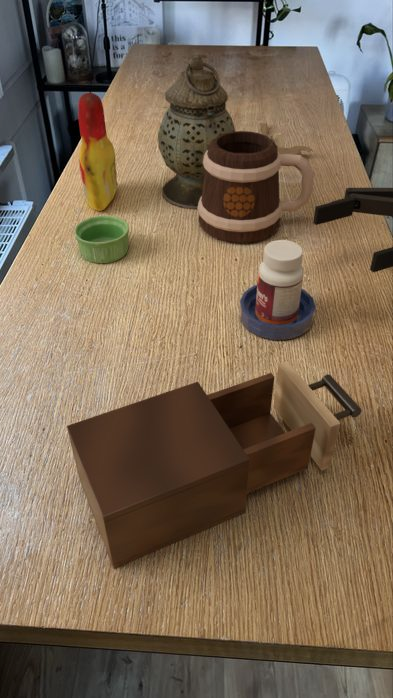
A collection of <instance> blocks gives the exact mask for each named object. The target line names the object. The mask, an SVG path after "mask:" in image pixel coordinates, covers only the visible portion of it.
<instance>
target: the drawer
mask: <svg viewBox="0 0 393 698" xmlns="http://www.w3.org/2000/svg"><path fill="white" fill-rule="evenodd" d="M276 372H277V373H276V381H275V375H273V373H272V372H269V373H266V374H264V375H263V374H262V375H260V376H257V377H254V378H252V379H249V380H246V381H243V382H240V383H237V384H235V385H232V386H229V387H226V388H223V389H220V390H218V391H214V392H212V393H209V394H207V396H208V397H209V399H210V401H211V402H212V404H213V405H214V407H215V408H216V410H217V411H218V413H219V414H220V416H221V417H222V419H223V420H224V422H225V423H226V425H227V426H228V428H229V429H230V431H231V432H232V434H233V435H234V437H235V438H236V440H237V441H238V443H239V444H240V446H241V447H242V449H243V450H244V452H245V453H246V455H247V456H248V458H249V473H248V485H247V494H249V493H250V494H251V493H252V492H255V491H257V490H260V489H262V488H265V487H266V486H269V485H271V484H273V483H276V482H279V481H281V480H283V479H286V478H288V477H290V476H293V475H295V474H298V473H301V472H303V471H305V470H307V469H309V465H310V460H311V458H312V460H313V461H314V463H315V464H316V466H317V467H318V468H319V469H320V470H321V471H323V470H325V469H328V468H330V467H331V465H332V462H333V457H334V452H335V449H336V444H337V440H338V436H339V431H340V427H341V422H340V421H341V420H343V419H346V418H348V417H349V416H350V417H351V418H353V419H355V418H357V417H359V416H360V415H361V414H362V413H363V409H362V408H361V407H360V406H359V404H358V403H357V402H356V401H355V400H354V399H353V398H352V397H351V395H350V394H349V393H347V391H346V390H345V389H344V388H343V387H342V386H341V385H340V383H338V381H337V380H336V379H335V378H334V377H333V376H332V375H331V374H330V373H329V374H325V375H324V376H323V377H322V378H321V379H320V380H319V381H316V382H313V383H310V384H307V382H306V381H305V380H304V379H303V378H302V376H301V375H300V374H299V373H298V372H297V371H296V370H295V368H294V367H293V366H292V364H291V363H289V362H288V360H286V361H283V362H280V363H278V364H277V371H276ZM274 384H275V390H274ZM321 388H325V389H326V390H327V391H328V392H329V394H331V396H332V397H333V398H334V399H335V400H336V401H337V403H338V404H339V405H340V406H341V407H342V408H343V410H341V411H339V412H337V413H334V414H333V413H332V412H331V411H330V409H329V408H328V407H327V406H326V404H325V403H324V402H323V401H322V400H321V399H320V397H319V396H318V395H317V394H316V393H315V392H314V391H316V390H319V389H321ZM273 392H274V393H273ZM273 394H274V397H273ZM272 402H273V403H272ZM272 404H273V409H274V410H275V411H276V412H277V414H278V415H279V417H280V418H281V419H282V421H283V422H284V423H285V425H286V426H287V427H288V428H289V429H290V431H285V430H284V429H283V427H282V426H281V425H280V424H279V422H278V421H277V419H276V418H275V416H273V414H272V413H271V412H272Z"/></svg>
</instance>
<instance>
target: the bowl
mask: <svg viewBox="0 0 393 698" xmlns="http://www.w3.org/2000/svg"><path fill="white" fill-rule="evenodd" d="M256 296H257V284H255V285H252V286H251V287H249V288H248V289H246V290H245V291H244V292H243V293H242V296H241V298H240V300H239V317H240V318H239V319H240V322H241V323H242V325H243V326H244V327H245V328H246V329H247V331H249V332H251V333H252V334H254V335H255V336H258V337H259V338H263V339H269V340H275V341H278V340H291V339H294V338H297V337H300V336H303V335H304V334H305V333H306V332H307V331H309V330H310V329H311V328H312V326H313V323H314V320H315V314H316V307H317V306H316V303H315V300H314V298H313V296H312V295H310V293H308V291H306V290H305V289H304V288H302V289H301V296H300V303H299V310H298V316H297V319H296V320H295V321H294V322H293V323H292V324H290V325H273V324H269V323H264V322H261V321H259V320H258V318H257V317H256V313H255V311H256Z"/></svg>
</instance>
